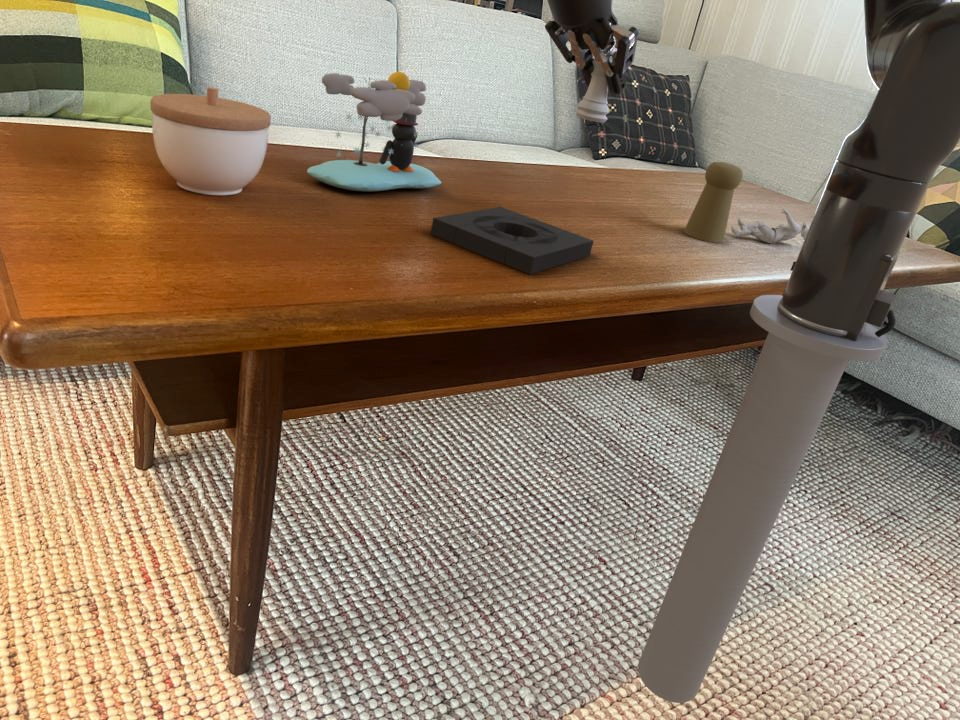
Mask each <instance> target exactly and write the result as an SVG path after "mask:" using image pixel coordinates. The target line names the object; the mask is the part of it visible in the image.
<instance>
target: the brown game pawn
mask: <svg viewBox="0 0 960 720" xmlns="http://www.w3.org/2000/svg"><path fill="white" fill-rule="evenodd" d="M704 173H705V176H704V179H705V182H706V183H705V185H704V186H703V189H702V192H700V193H701V194H700V196H699V197H698V200H697V201H696V204H695V206H694V209H693V211H692V213H691V215H690V216H689V219H688V221H687V223H686V226H685V228H684V230H683V231H684V234H686V235H687V236H689V237H692V238H694V239H697V240H700V241H703V242H708V243H714V244H722V243H724V242H725V236H726V231H727V227H728V221H729V217H730V213H731V208H732V201H733V197H734V191H735V190H736V189H737V188H738V187H739V186H740V184H741V183H742V180H743V177H744V176H743V174H744V173H743V169H741V168H740V167H739V166H737V165H736V164H733V163H730V162H726V161H713V162H710V164H709V165H708V166H707V167H706V170H705V172H704Z"/></svg>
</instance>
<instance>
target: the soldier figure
mask: <svg viewBox="0 0 960 720" xmlns="http://www.w3.org/2000/svg"><path fill="white" fill-rule="evenodd" d="M780 210H782V211H781V213H782V214H784V215H786V216H785V218H786V221H787V224H778V226H774V227H770V226H769V225H768V224H766V222H764V221H763V220H757V221H754V222H750V223H745V222H744V221H743V220H742V218H741V217H738V219H737V225H738V227H739V229H740V230H739V229H737V228H735V226H734V225H731V227H730V230H731V233H732V234H733V237H734V238H739V237H740V236H743V237H745V236H752V237H754V238H756V239H757V240H760V241H762V242H764V243H767V244H772V243H777V242H778V243H779V242H784V241H785V242H786V241H789V240H792V239H794V238H796V237H797V236H798V235H799V234H800V235H801V237H802V238H803V241H804V240H805V238H806V235H807V233H808V230H809V228H810V224H809V223H808V222H806V221H803V222H802V224H798V223H796V221H795V220H794V218H793V217H792V216H791V214H790V213H789V211H788V210H787V209H786V208H784V207H780Z"/></svg>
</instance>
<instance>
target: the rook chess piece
mask: <svg viewBox="0 0 960 720" xmlns="http://www.w3.org/2000/svg"><path fill="white" fill-rule="evenodd" d="M593 59H594V60H593V61H592V62H593V65H594V71H593V72H592V73H591V75H592V78H591V82H590V85H589V87H588V86H587V90H586V91H585V92H586V93H585V94H584V96H582V99H581V100H580V101H579V102H578V103H577V107H578V110H576V111H575V115H576V117H577V118H579V119H583V120H586V121H589V122H591V121H592V122H594V123H595V122H596V123H605V122H607V120H608V117H607V115H608V114H609V113H610V107H609V106H608V104H609V102H608V92H609V86H608V83H607V80H606V74H605V72H604V70H603V67H602V65H601V63H600V62H596V60H595V58H593ZM609 61H610V63H611V62H612V61H613V59H612V57H610V58H609Z"/></svg>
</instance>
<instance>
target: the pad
mask: <svg viewBox="0 0 960 720" xmlns="http://www.w3.org/2000/svg"><path fill="white" fill-rule="evenodd" d="M430 235H432V236H434V237H436V238H439V239H441V240H443V241H446V242H449V243H451V244H454V245H456V246H459V247H461V248H463V249H466V250H468V251H470V252H472V253H475V254H478V255H479V256H480V255H481V256H483V257H485V258H488V259H490V260H492V261H494V262H497V263H500V264H502V265H505V266H508V267H510V268H513V269H515V270H517V271H519V272H522V273H525V274H527V275H534V274H537V273H540V272H544V271H546V270H549V269H553V268H555V267H558V266H563V265H565V264H569V263H571V262H574V261H575V262H576V261H578V260H582V259H585V258H588V257H590V256H591V253H592V249H593V245H594V240H593V239H591V238H587V237H585V236H583V235H580V234H577V233H574V232H571V231H569V230H566V229H563V228H560V227H558V226H555V225H552V224H549V223H546V222H544V221H541V220H538V219H536V218H533V217H530V216H527V215H526V214H525V215H524V214H521V213H519V212H516V211H513V210H510V209H507V208H505V207H502V206H497V207H492V208H485V209H479V210H473V211H467V212H461V213H453V214H448V215H443V216H435V217H433V218H432V224H431V229H430Z"/></svg>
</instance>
